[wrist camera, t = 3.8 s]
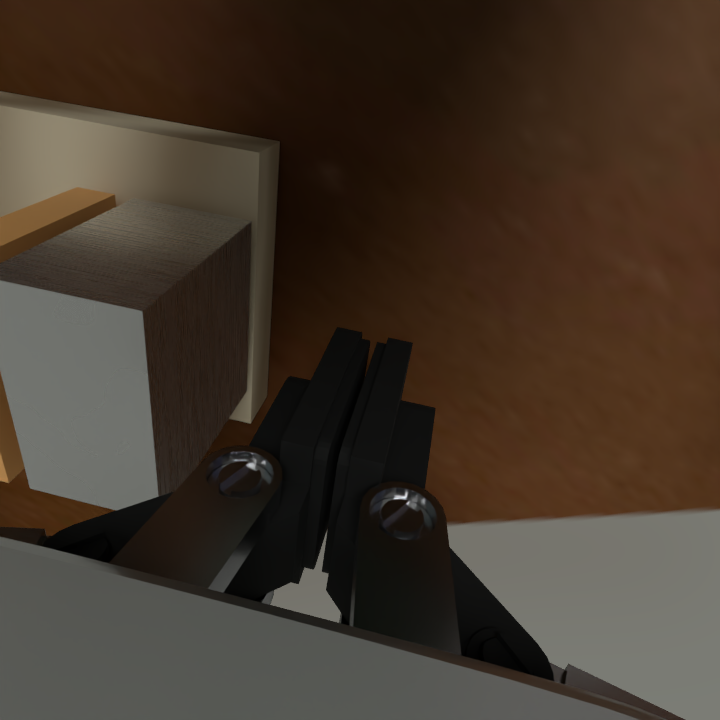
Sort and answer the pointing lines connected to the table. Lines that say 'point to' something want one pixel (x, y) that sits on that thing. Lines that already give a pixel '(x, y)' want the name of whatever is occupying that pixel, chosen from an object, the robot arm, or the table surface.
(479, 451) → the table surface
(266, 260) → the board
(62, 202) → the orange rectangular slab
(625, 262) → the table surface
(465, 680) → the robot arm
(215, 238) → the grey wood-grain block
